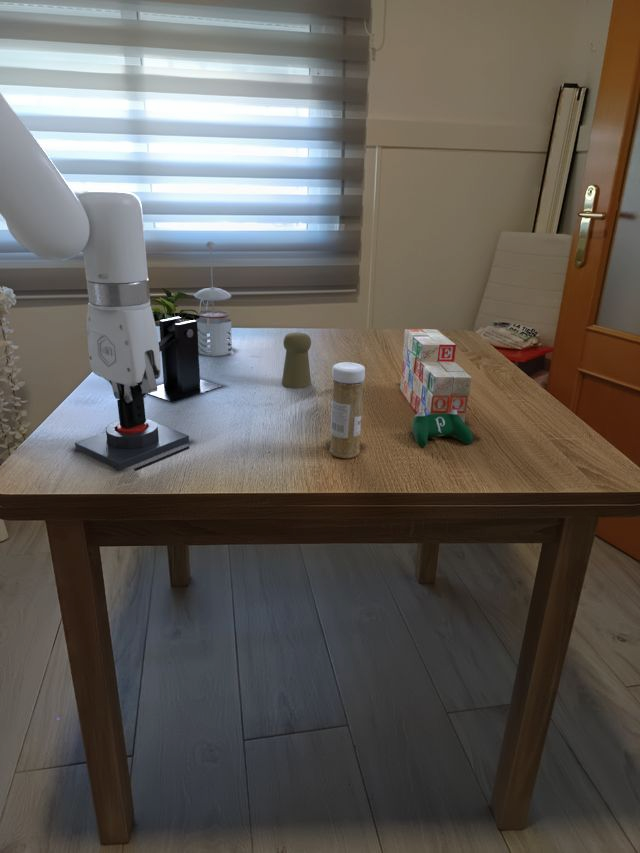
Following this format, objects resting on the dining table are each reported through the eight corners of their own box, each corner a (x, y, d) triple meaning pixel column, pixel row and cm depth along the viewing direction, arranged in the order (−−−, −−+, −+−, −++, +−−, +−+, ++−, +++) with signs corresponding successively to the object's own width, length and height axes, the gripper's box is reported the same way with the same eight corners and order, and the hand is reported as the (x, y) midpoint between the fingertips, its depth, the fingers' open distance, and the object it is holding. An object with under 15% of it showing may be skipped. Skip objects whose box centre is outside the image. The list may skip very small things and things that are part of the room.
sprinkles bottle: (365, 456, 84) (371, 368, 79) (338, 461, 82) (343, 372, 77) (349, 444, 88) (354, 359, 83) (323, 449, 86) (326, 363, 81)
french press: (201, 363, 125) (195, 243, 116) (184, 350, 134) (178, 238, 125) (243, 358, 130) (241, 243, 120) (224, 346, 139) (220, 238, 129)
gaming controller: (466, 449, 92) (458, 415, 94) (476, 441, 89) (467, 405, 91) (412, 453, 90) (405, 418, 92) (420, 444, 87) (412, 408, 89)
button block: (120, 478, 76) (117, 450, 74) (76, 456, 81) (72, 430, 79) (189, 448, 85) (188, 423, 83) (146, 431, 90) (144, 407, 88)
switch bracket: (173, 408, 99) (168, 330, 94) (140, 397, 104) (133, 321, 99) (223, 391, 108) (220, 319, 103) (190, 381, 113) (186, 312, 108)
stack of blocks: (464, 431, 95) (474, 358, 90) (427, 431, 94) (435, 358, 89) (430, 389, 114) (437, 328, 110) (399, 389, 114) (404, 327, 109)
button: (129, 444, 79) (128, 433, 79) (112, 437, 81) (110, 425, 81) (153, 435, 82) (152, 424, 82) (135, 428, 84) (134, 417, 84)
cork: (300, 396, 108) (302, 338, 103) (274, 390, 110) (274, 333, 106) (317, 388, 112) (319, 332, 108) (292, 382, 115) (293, 328, 111)
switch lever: (133, 387, 95) (124, 372, 93) (121, 383, 97) (112, 368, 95) (193, 335, 103) (186, 320, 101) (181, 332, 104) (174, 317, 102)
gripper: (59, 290, 75) (78, 419, 82) (131, 306, 67) (145, 447, 74) (109, 284, 81) (123, 405, 88) (180, 297, 73) (189, 430, 80)
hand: (133, 424), depth 81 cm, fingers closed
